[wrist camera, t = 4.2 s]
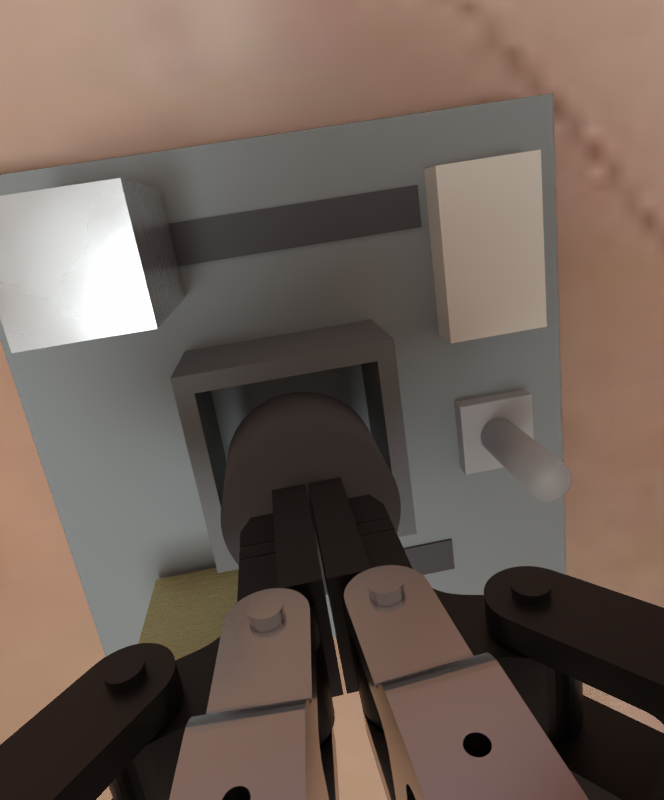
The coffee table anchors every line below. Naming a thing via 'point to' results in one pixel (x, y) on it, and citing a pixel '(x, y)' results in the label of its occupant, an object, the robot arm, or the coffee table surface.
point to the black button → (300, 460)
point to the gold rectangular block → (189, 610)
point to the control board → (323, 346)
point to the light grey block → (85, 263)
